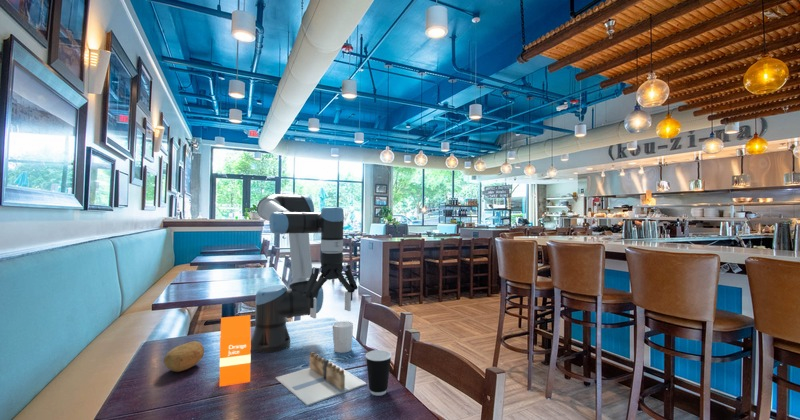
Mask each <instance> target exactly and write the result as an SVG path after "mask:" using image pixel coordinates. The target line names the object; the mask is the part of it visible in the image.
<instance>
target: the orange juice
mask: <svg viewBox="0 0 800 420" xmlns="http://www.w3.org/2000/svg"><path fill="white" fill-rule="evenodd" d="M251 339H252V334H251V314H248V315H239V316H238V315H235V316H226V317H225V316H224V317H221V318H220V338H219V388H220V387H227V386H231V385H239V384H243V383H244V384H245V383H250V382H251V363H252V361H251V356H252V354H251V351H252V350H251Z"/></svg>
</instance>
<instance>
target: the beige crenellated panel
mask: <svg viewBox="0 0 800 420" xmlns="http://www.w3.org/2000/svg"><path fill="white" fill-rule="evenodd" d="M324 360H327V359H326V358H323V356H321V355H319V354H318V353H316V354H315V351H311V352H310V353H309V368H311V369H312V370H314V371H315V372H317V373H318V374H320V375H321V376H322V377H323V376H324Z"/></svg>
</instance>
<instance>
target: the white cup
mask: <svg viewBox="0 0 800 420" xmlns="http://www.w3.org/2000/svg"><path fill="white" fill-rule="evenodd" d="M353 331H354V323H353V322H351V321H347V320H345V321H344V320H343V321H336V322H334V323H332V340H333V351H334V352H335V353H338V354H339V353H340V354H341V353H343V354H344V353H348V352H350V351H352V346H353V345H352V343H353V333H354V332H353Z"/></svg>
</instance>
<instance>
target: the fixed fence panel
mask: <svg viewBox="0 0 800 420" xmlns="http://www.w3.org/2000/svg"><path fill="white" fill-rule="evenodd" d="M329 362H330V363H329ZM331 362H332V361H329V360H328V359H326V360H324V379H326V380H327V381H328V382H330V383H331V384H333V385H334V386H336V387H337V388H338V389H340V390H344V389H345V375H344V370H345V369H344V368H342V370H340V368H339V367H340V366H339V367H337V368H336V365H337V364H336V365H332V363H333V362H332V363H331ZM343 369H344V370H343Z"/></svg>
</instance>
